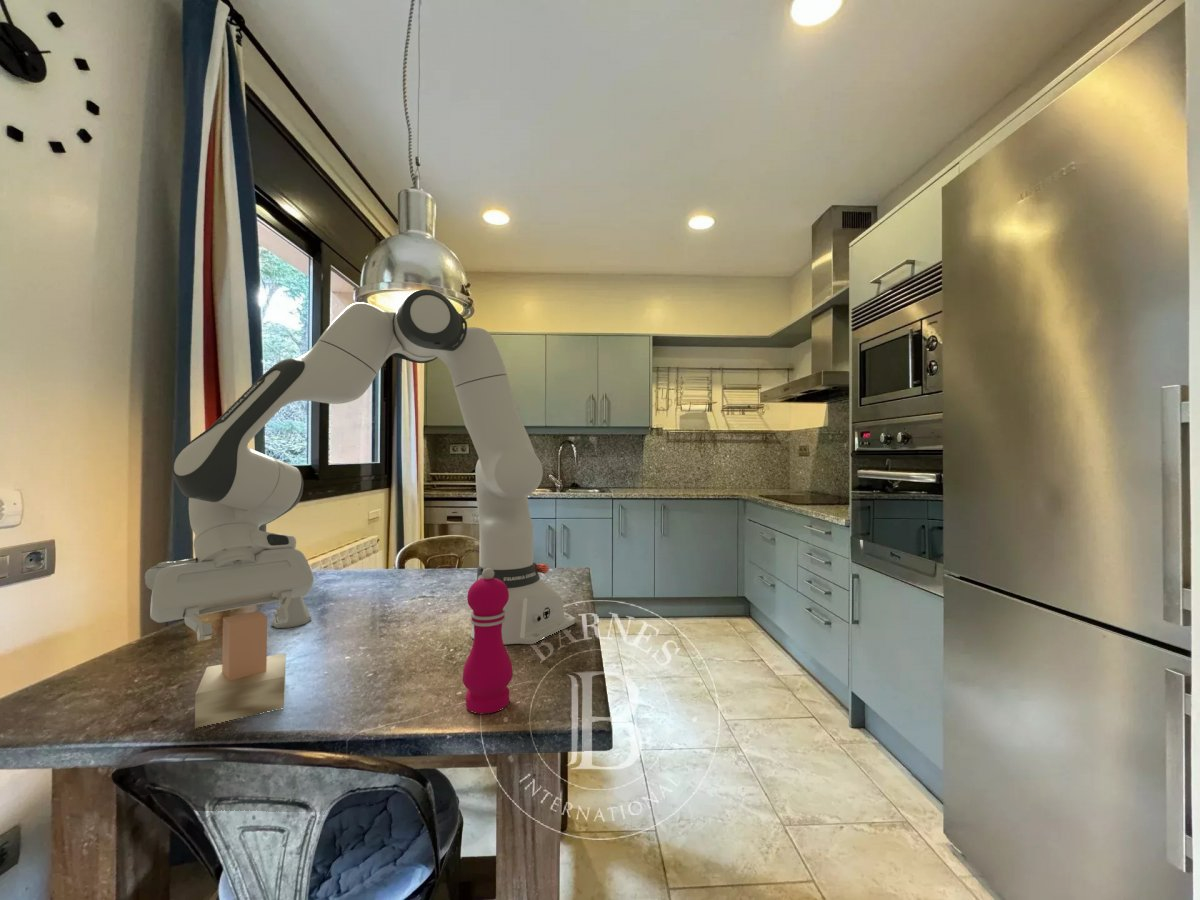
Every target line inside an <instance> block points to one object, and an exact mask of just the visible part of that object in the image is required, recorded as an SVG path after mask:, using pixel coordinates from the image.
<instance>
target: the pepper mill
mask: <svg viewBox="0 0 1200 900" xmlns="http://www.w3.org/2000/svg"><path fill="white" fill-rule="evenodd" d="M482 576H483V579H480V580H477V579H476V581H475V582H473V583H472V584H471V585H470V587H469V589H468V591H467V596H466V597H467V598H466V599H467V604H468V606H469V607H470V608H471V609H472V611H471V613H470V617H471V619H470V623H471V624H472V626H473V625H474V639H473V642H472V647H471V649H470V652H469V654H468V656H467V659H466V661H465V663H464V667H463V670H462V678H461V680H462V684H463V685H464V687H465V688H466V689H467V692H466V693H465V708H466V710H467V711H468V710H470V711H473V712H476V713H492V712H496V711H498V710H500V709H502V708H504V707H505V706H506V705H507V704H508V705H509V703H510V688H509V687H508V685H509V683H511V681H512V679H513V675H514V674H513V673H514V672H513V664H512V660H511V658H510V656H509V653H508V651H507V649H506V646H505V644H503V640H502V623H503V622H504V621H505V610H503V608H504V606H505V605H506V604H507V602H508V599H509V592H508V588H507V586H506V584H505V583H504V582H503V581H501V580H499V579H496V578H493V577H494V570H493V569H491V568H486V569H484V570H483V572H482ZM508 705H507V706H508ZM505 708H506V707H505ZM505 708H504V709H505ZM470 711H469V712H470ZM496 713H497V712H496ZM492 714H493V713H492Z"/></svg>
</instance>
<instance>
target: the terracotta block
mask: <svg viewBox="0 0 1200 900" xmlns="http://www.w3.org/2000/svg"><path fill="white" fill-rule="evenodd" d="M267 634H268V616H267V615H265V614H264V613H263V612H261V611H260V610H257V611H256V610H255V611H251V612H246V613H245V612H243V613H239V614H234V615H229V616H223V617H222V653H221V654H222V655H221V656H222V659H221V660H222V661H221V664H222V673H223V674H224V675H225V677H226V678H227V679H228V681H232V680H235V679H239V678H243V677H246V676H250V675H254V674H258V673H261V672H265V671H266V665H267V656H268V652H267V650H268V646H267V645H268V640H267V639H268V635H267Z"/></svg>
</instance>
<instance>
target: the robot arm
mask: <svg viewBox="0 0 1200 900" xmlns="http://www.w3.org/2000/svg"><path fill="white" fill-rule="evenodd" d="M389 357H392V358H397V359H401V360H404V361H407V362H411V363H415V364H427V363H430V362H433V361H435V360H437V359H439V360H441V361H442V362H443V364H445V366H446V367H447V369H448V372H449V373H450V375H451V376H450V377H451V381H452V384H453V388H454V392H455V395H456V399H457V402H458V405H459V406H458V407H459V409H460V413H461V416H462V419H463V424H464V426H465V428H466V430H467V432H468V435H469V437H470V439H471V441H472V444H473V446H474V449H475V452H476V454H477V457H478V459H477V461H476V465H475V472H474V473H475V489H476V490H475V491H476V504H477V505H476V507H477V515H478V524H479V525H478V527H479V531H478V532H479V533H478V534H479V535H478V536H479V539H478V541H479V544H478V545H479V546H478V547H479V548H478V549H479V552H478V553H479V557H478V559H479V560H478V562H479V564H478V565H477V566H476V567H477V568H476V581H477V580H480V579H483V576H482V572H483V570H484V569H486V568H491V569H493V570H494V577H493V578H496V579H499V580H501V581H503V582H504V583H505V584H506V586H507V588H508V592H509V599H508V602H507V604H506V605H505V606H504V608H503V610H505V621H504V622H503V623H502V640H503V644H504V645H514V644H516V645H517V644H520V645H521V644H522V645H535V644H537V643H536V642H538V641H539V640H540V639H542V638H543V637H546V636H549V635H551V636H553V635H555V634H557V633H559V632H561V631H563V630H565V629H567V628H568V627H570V626H572V625H575V623H576V622H575V621H576V620H575V617H574V616H572V615H571V614H569V613H568V612H565V607H564V601H563V597H562V595H561V594H560V593H559V592H557V590H555V589H553V588H552V587H550V585H548V584H547V583H545V582H544V581H543V580H542V579H541V578H540V577H541V576H540V573H542V574H545V575H546V574H548V572H549V569H550V567H549V565H548V564H546V563H541V562H539V563H538V564H537V563H536V562H534V525H533V522H532V517H531V512H530V506H529V499H528V496H530V495H531V494H533V493H534V492H535V491H536V490H537V489H538V488H539V486H540V484H541V482H542V480H543V475H544V473H543V472H544V471H543V466H542V465H543V464H542V463H541V460H540V459H539V457H538V455H537V454H536V452H535V449H534V447H533V444H532V441H531V439H530V437H529V434H528V432H527V430H526V428H525V425H524V424H523V421H522V419H521V416H520V414H519V411H518V408H517V405H516V400H515V398H514V395H513V391H512V386H511V383H510V381H509V377H508V373H507V370H506V367H505V364H504V360H503V359H502V356H501V354H500V350H499V349H498V346H497V344H496V341H495V340H494V338H493V336H492V334H490V332H488V331H487V330H486V329H484V328H481V327H475V326H469V327H468V323H467V320H466V319H465V318H464V316H462V314H461V313H460V312H458V310H457V309H456V307H455V306H454V304H453V303H452V302H451V300H449V299H448V298H447V297H446V296H445V295H444V294H442V293H440V292H439V291H436V290H433V289H418V290H415V291H413V292H411V293H408V295H406V296H405V297H404V298H403V299H402V300H401V301H400V303H398V307H397V310H396V311H392V312H391V311H390V312H389V311H384V310H383V309H381V308H379V307H377V306H376V305H373V304H370V303H367V302H362V301H361V302H359V301H358V302H355V303H352V304H350V305H348V306H347V307H346V308H345V309H344V310H343V311H342V312H340V314H338V316H337V317H335V318H334V319H333V321H332V322H331V323H330V324H329V326H327V327H326V329H325V330H324V331H323V332H322V334H321V335H320V337H319V338H318V340H317V341H316V343H315V344H314V345H313V346H312V347H311V348H310V349H309V350H308V351H307V352H305V353H304V354H302V355H300V356H298V357H296V358H292V357H289V358H288V357H287V358H284V359H282V360H281V359H280V360H279V361H278V362H276V363H275V364H274V365H273V366H271V367H270V368H269V369H268V370H267V371H265V372H264V374H262V375H261V376H260V377H259V378H258V379H257V380H255V382H254V383H253V384H251V386H250V387H248V389H247V390H246V391H244V392H243V394H242V395H241V396H239V398H237V400H236V401H235V402H234V403H233V404H232V405H230V406H229V408H228V409H227V410H226V411H225V412H224V413H222V414H221V416H220V417H219V418H218V419H217V420H216V421H215V422H214V423H212V424H211V426H209V427H208V428H207V429H206V430H204V431H203V432H201V433H200V434H199V435H197V436H196V437H194V438H193V439H192V440H191V441H189V442H188V443H187V444H186V445H185V446H184V447H182V448H181V450H179V452H178V454H177V455H176V456H175V458H174V460H173V463H172V469H171V471H172V475H173V479H174V481H175V484H176V486H177V488H178V489H179V491H180V492H181V493H182V495H183V496H185V497H186V498H188V517H189V524H190V525H189V526H190V527H191V530H192V532H193V533H194V535H195V536H194V539H193V549H194V557H195V558H194V557H193V558H185V559H181V560H175V561H163V562H158V563H157V565H154V566H151V567H150V568H149V569H147V570H146V571H145V573H144V583H145V585H146V587H147V588H148V589H150V590H151V596H150V607H149V608H150V609H149V610H150V611H149V616H150V619H151V620H152V621H154V622H155V623H159V624H161V623H168V622H173V621H178V620H182V619H184V624H185V626H187V627H188V628H189V629H191V630H193V632H195V633H196V640H197V642H202V641H207V640H210V639H212V638H213V637H212V636H213V634H214V633H213V628H212V622H206V623H204V622H203V621H202V620H201V619H200V618H199V616H204V615H210V614H214V613H220V612H225V611H231V610H236V609H243V608H247V607H252V606H257V605H262V604H268V603H273V602H278V604H279V605H283V604H284V605H283V607H282V608H281V609H278V608H277V609H275V612H274V613H273V619H274V620H276V621H275V624H281V623H286V622H287V621H288V618H289V615H288V611H287V608H288V606H289V603H290V601H291V598H296V597H302V598H303V597H305V596H307V594H309V592H310V591H311V589H312V588H313V584H314V581H315V579H314V574H313V572H312V569H311V566H310V564H309V562H308V560H307V559H308V558H306V556H305V554H304V553H303V552H302V551H301V550H299V549H297V548H296V546H297V539H296V537H295V536H293V535H290V534H283V533H275V532H269V531H264V530H260V527H261V526H265V525H268V524H270V523H272V522H274V521H276V520H278V519H279V518H280V517H282V516H284V515H286V514H287V513H289V512H290V511H291V510H292V509H294V508H295V507H296V506H297V505H298V504H299V503H300V501H301V498H302V496H303V492H304V478H303V475H302V472H301V471H300V469H299V468H298V467H296V466H293V465H292V464H289V463H287V462H285V461H283V460H280V459H278V458H275V457H273V456H270V455H267V454H264V453H262V452H260V451H257V450H255V449H253V448H251V447H248V445H249V443H250V442H251V441H252V439H254V438H255V437H256V435H257V434H258V433H259V432H260V431H261V430H262V429H263V427H264V426H266V425H267V423H269V421H270V420H271V419H272V418H273V417H275V415H276V414H277V413H278V412H279V411H280V410H281V409H282V408H284V407H285V406H287V405H289V404H291V403H295V402H299V401H300V402H301V401H305V402H306V401H307V402H309V401H310V402H316V403H321V404H333V405H337V404H338V405H339V404H347V403H351V402H353V401H356V400H358V399H359V398H361V396H363V395H364V394H365V393H366V391H368V389H369V388H370V386H371V385H372V383H373V381H374V380H375V379H376V376H377V375H378V373H379V372H380V370H381V368H382V367H383V365H384V364H385V362H386V361H387V360H388V359H389ZM279 605H278V606H279ZM560 630H561V631H560ZM558 631H559V632H558ZM556 632H557V633H556ZM554 633H555V634H554ZM552 634H553V635H552ZM470 636H471V639H473V640H474V625H473V624H472V628H471V632H470ZM549 637H550V636H549ZM534 643H535V644H534ZM538 643H539V642H538Z"/></svg>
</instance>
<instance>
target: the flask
mask: <svg viewBox="0 0 1200 900" xmlns="http://www.w3.org/2000/svg"><path fill="white" fill-rule="evenodd" d="M283 605H284V604H283ZM283 605H278V608H277V609H281V608H282V607H283ZM287 611H288V615H289V618H288V621H287V622H286V623H281V624H275V621H276V620H274V618H273V619H272V622H271V624H270V627H273V626H274V627H273V628H277V629H281V628H282V629H284V628H285V629H286V628H295V627H298V626H302V625H305V624H307V623H309V622H310V621H312V617H311V614H310V612H309V609H308V608H307V605H306V603H305V601H304V599H303V596H302V597H296V598H291V601H290V603H289V606H288V608H287Z"/></svg>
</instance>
